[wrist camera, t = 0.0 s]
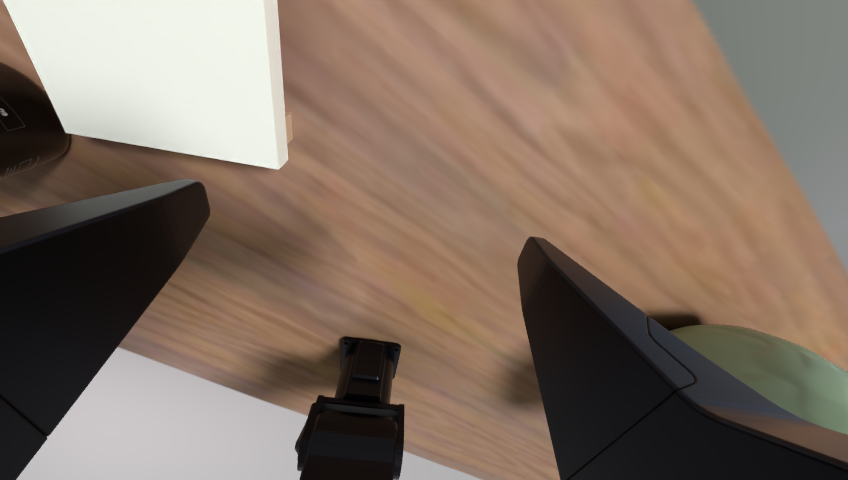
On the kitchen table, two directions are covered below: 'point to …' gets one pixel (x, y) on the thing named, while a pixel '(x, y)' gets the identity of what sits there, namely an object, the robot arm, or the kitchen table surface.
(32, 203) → the kitchen table surface
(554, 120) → the kitchen table surface
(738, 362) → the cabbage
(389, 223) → the kitchen table surface
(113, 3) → the white square riser
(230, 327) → the kitchen table surface
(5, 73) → the supplement bottle
